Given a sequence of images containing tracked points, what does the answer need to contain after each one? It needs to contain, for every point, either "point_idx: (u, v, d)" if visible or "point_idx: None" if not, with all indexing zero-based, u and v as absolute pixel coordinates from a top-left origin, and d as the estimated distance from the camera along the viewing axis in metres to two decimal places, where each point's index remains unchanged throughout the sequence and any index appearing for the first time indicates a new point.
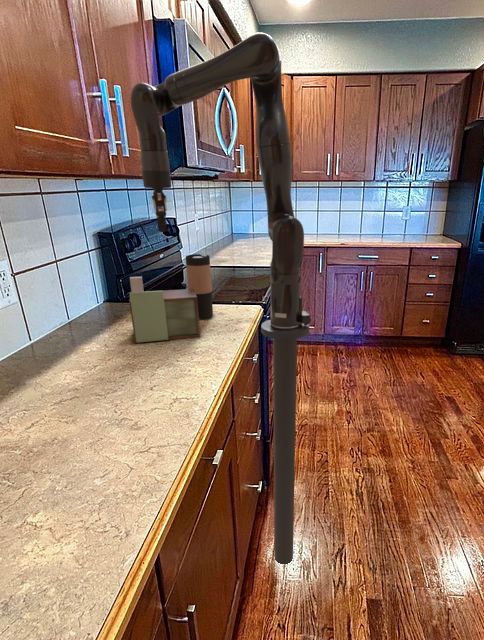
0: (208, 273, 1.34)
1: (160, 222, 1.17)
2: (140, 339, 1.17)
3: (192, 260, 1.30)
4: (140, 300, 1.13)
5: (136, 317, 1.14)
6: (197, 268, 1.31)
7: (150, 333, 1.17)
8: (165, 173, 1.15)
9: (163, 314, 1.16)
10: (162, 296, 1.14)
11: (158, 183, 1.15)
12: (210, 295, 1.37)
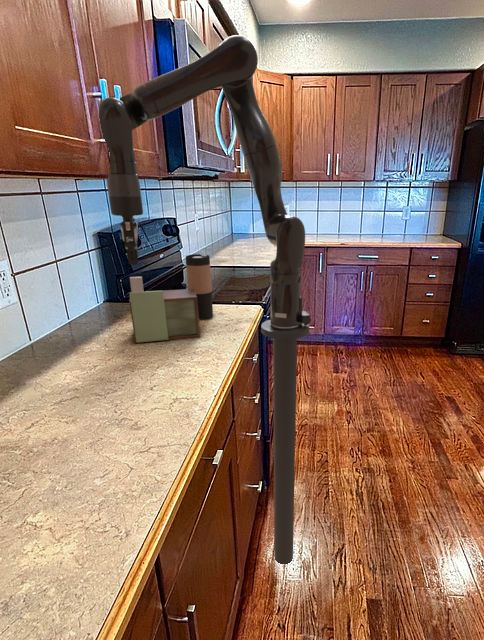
0: (208, 273, 1.34)
1: (130, 254, 1.03)
2: (140, 339, 1.17)
3: (192, 260, 1.30)
4: (140, 300, 1.13)
5: (136, 317, 1.14)
6: (197, 268, 1.31)
7: (150, 333, 1.17)
8: (135, 199, 1.01)
9: (163, 314, 1.16)
10: (162, 296, 1.14)
11: (127, 211, 1.01)
12: (210, 295, 1.37)
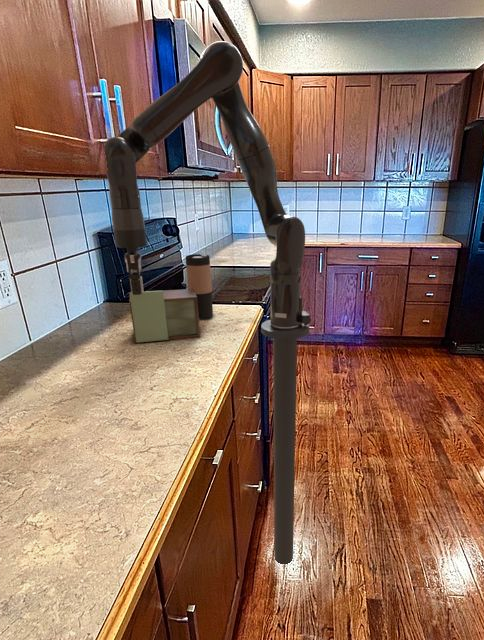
0: (208, 273, 1.34)
1: (134, 285, 1.06)
2: (140, 339, 1.17)
3: (192, 260, 1.30)
4: (140, 300, 1.13)
5: (136, 317, 1.14)
6: (197, 268, 1.31)
7: (150, 333, 1.17)
8: (139, 232, 1.04)
9: (163, 314, 1.16)
10: (162, 296, 1.14)
11: (131, 244, 1.04)
12: (210, 295, 1.37)
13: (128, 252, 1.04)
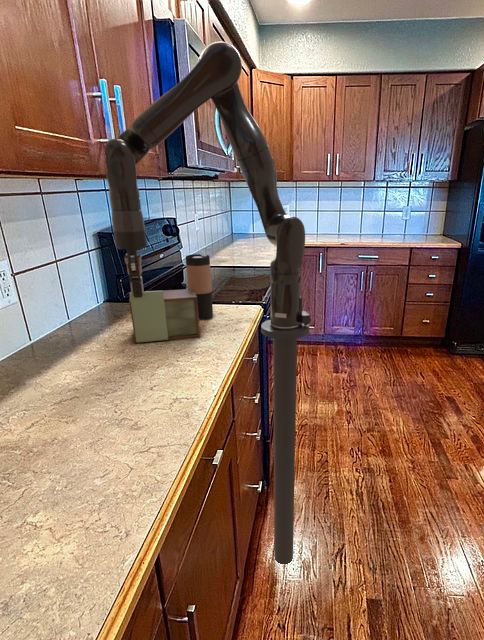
0: (208, 273, 1.34)
1: (135, 288, 1.09)
2: (140, 339, 1.17)
3: (192, 260, 1.30)
4: (140, 300, 1.13)
5: (136, 317, 1.14)
6: (197, 268, 1.31)
7: (150, 333, 1.17)
8: (139, 233, 1.04)
9: (163, 314, 1.16)
10: (162, 296, 1.14)
11: (132, 245, 1.04)
12: (210, 295, 1.37)
13: (128, 253, 1.04)
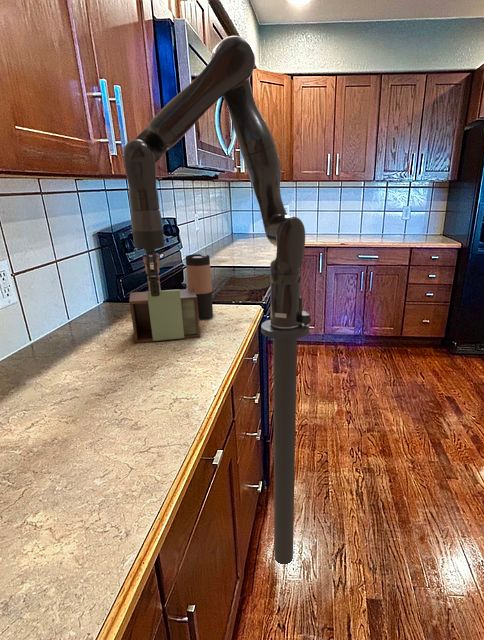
0: (208, 273, 1.34)
1: (152, 287, 1.10)
2: (156, 337, 1.18)
3: (192, 260, 1.30)
4: (157, 299, 1.14)
5: (153, 316, 1.15)
6: (197, 268, 1.31)
7: (166, 332, 1.18)
8: (157, 233, 1.05)
9: (179, 313, 1.17)
10: (179, 295, 1.15)
11: (150, 245, 1.05)
12: (210, 295, 1.37)
13: (147, 253, 1.06)
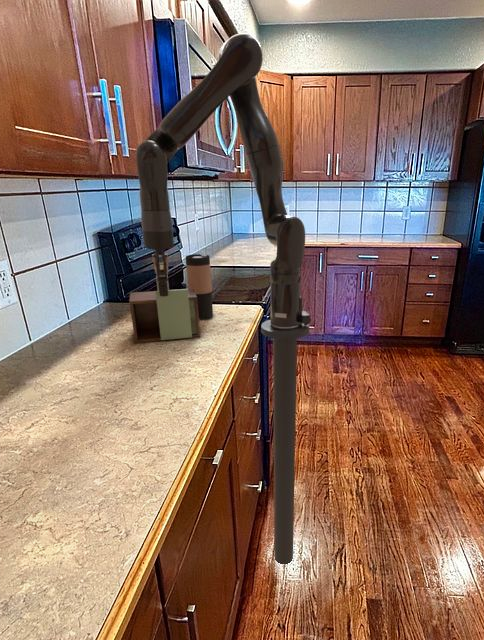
0: (208, 273, 1.34)
1: (161, 287, 1.11)
2: (165, 337, 1.19)
3: (192, 260, 1.30)
4: (165, 298, 1.15)
5: (161, 315, 1.16)
6: (197, 268, 1.31)
7: (174, 331, 1.19)
8: (167, 233, 1.06)
9: (187, 313, 1.18)
10: (187, 294, 1.16)
11: (160, 245, 1.06)
12: (210, 295, 1.37)
13: (156, 253, 1.06)
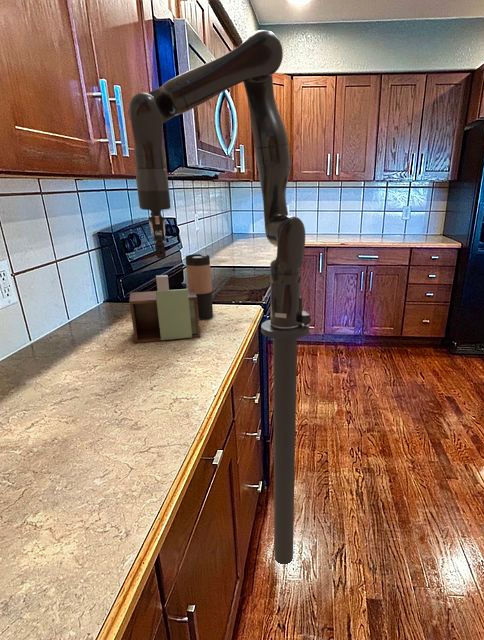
0: (208, 273, 1.34)
1: (158, 248, 1.05)
2: (165, 337, 1.19)
3: (192, 260, 1.30)
4: (165, 298, 1.15)
5: (161, 315, 1.16)
6: (197, 268, 1.31)
7: (174, 331, 1.19)
8: (164, 193, 1.02)
9: (187, 313, 1.18)
10: (187, 294, 1.16)
11: (156, 205, 1.02)
12: (210, 295, 1.37)
13: (153, 214, 1.03)
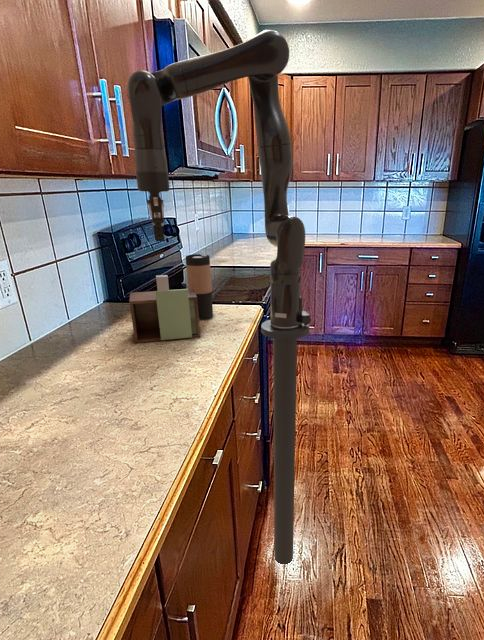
0: (208, 273, 1.34)
1: (157, 230, 1.03)
2: (165, 337, 1.19)
3: (192, 260, 1.30)
4: (165, 298, 1.15)
5: (161, 315, 1.16)
6: (197, 268, 1.31)
7: (174, 331, 1.19)
8: (162, 174, 1.01)
9: (187, 313, 1.18)
10: (187, 294, 1.16)
11: (155, 186, 1.01)
12: (210, 295, 1.37)
13: (151, 195, 1.01)
